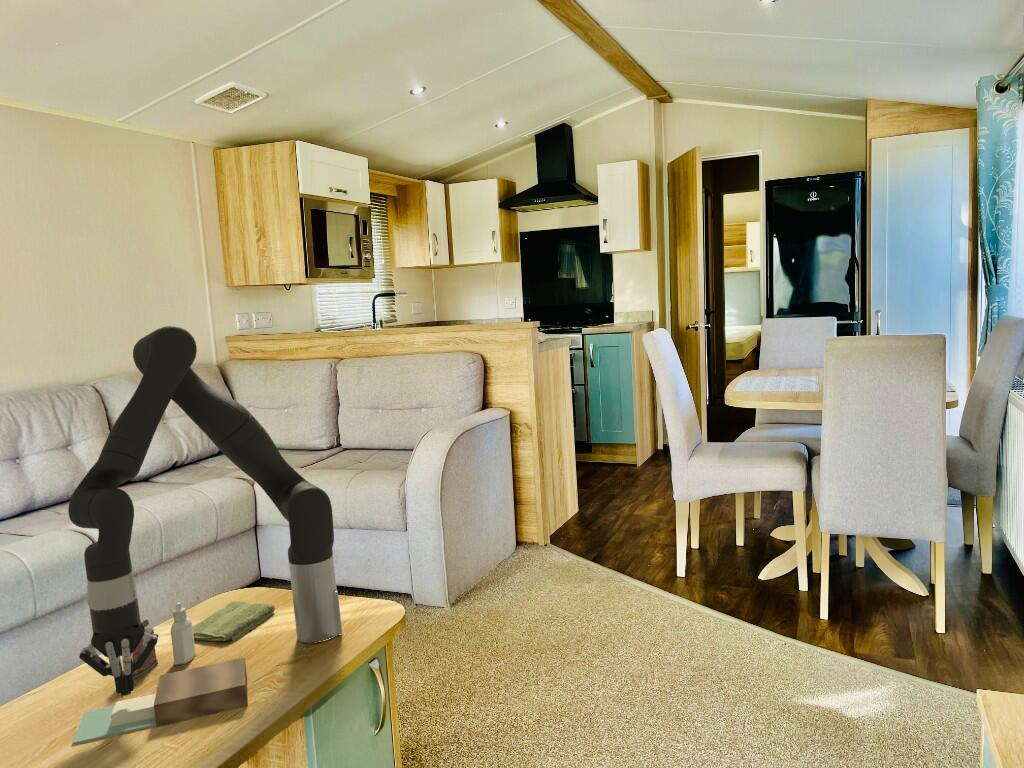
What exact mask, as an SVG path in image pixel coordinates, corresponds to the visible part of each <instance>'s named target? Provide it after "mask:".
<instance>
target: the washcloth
mask: <svg viewBox="0 0 1024 768" xmlns="http://www.w3.org/2000/svg"><path fill="white" fill-rule="evenodd" d="M275 610H276V607H275V605H274V604H268V603H258V602H257V603H249V602H246V601H239V600H232V601H230V602H229V603H227V604H226V605H225V606H224V607H222V608H220V609H218V610H216V611H215V612H214V613H212V614H210V615H209V616H208V617H206V618H205V619H203V620H201V621H199V622H197V623H196V624H194V625H192V627H193V635H194V640H196V639H197V641H200V640H203V641H210V642H211V641H213V642H216V641H222V642H230V643H231V642H232V643H235V642H236V641H238V639H240V638H242V637H243V636H244V635H246V634H247V633H249V632H250V631H252V630H253V629H254V628H255V626H256V627H257V626H259V625H260V624H261V623H264V621H266V620H267V619H268V618H270V615H271V616H273V614H274V612H275ZM258 624H259V625H258ZM252 628H253V629H252ZM248 631H249V632H248ZM245 633H246V634H245Z"/></svg>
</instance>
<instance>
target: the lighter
mask: <svg viewBox="0 0 1024 768" xmlns="http://www.w3.org/2000/svg"><path fill="white" fill-rule="evenodd" d="M140 621H141V624H142V625H143V626H144V628H145V632H147V633H150V634H152V635H153V634H155V630H154V628H153V627H148V628H146V627H147V626H149V625H150V622H149V621H150V620H149V619H148V618H143V619H142V620H140ZM143 641H144V640H143V638H142V639H141V641H140V642H139V644H138V646H137V647H136V649H135V651H134V652H133V656H132V659H133V661H134V660H136V659H137V657H138V656H139V654H140V653H141V651H142V650H143V648H144V646H143ZM156 652H157V651H156V646H155V647H154V648H153V650H152V651H151V653H150V654H149V656H148V658H147V659H146V661H145V662H144V664H143V665H142V667H141V668H140V669H136V670H135V671H133V674H134V682H136V681H138V680H139V679H142V678H143V677H145V676H146V675H148V674H149V673H150V672H152V671H153V670H154V669H156V667H157V666H158V665H159V660H158V659H157V653H156ZM157 664H158V665H157ZM152 669H153V670H152ZM151 670H152V671H151Z"/></svg>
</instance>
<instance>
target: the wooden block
mask: <svg viewBox="0 0 1024 768" xmlns="http://www.w3.org/2000/svg"><path fill="white" fill-rule="evenodd" d="M155 694H156V697H155V701H154V711H155V719H156V726H155V727H156V728H158V727H162V726H163V727H164V726H167V725H171V724H176V723H179V722H184V721H188V720H192V719H197V718H201V717H206V716H211V715H213V714H214V715H215V714H219V713H224V712H228V711H232V710H235V709H241V708H244V707H248V706H249V705H248V704H249V703H248V702H249V701H248V699H249V697H248V696H249V695H248V672H247V664H246V657H239V658H236V659H235V658H234V659H230V660H225V661H221V662H216V663H212V664H206V665H203V666H201V665H200V666H197V667H193V668H189V669H183V670H179V671H174V672H169V673H165V674H160V676H159V680H158V684H157V689H156V693H155Z"/></svg>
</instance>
